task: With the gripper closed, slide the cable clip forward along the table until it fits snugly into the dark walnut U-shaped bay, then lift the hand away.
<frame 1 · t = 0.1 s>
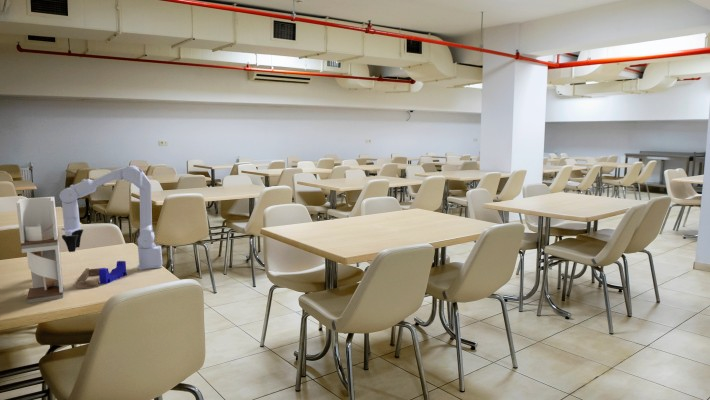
hand: (74, 249, 206), 10 cm above the table, tool pointing down, fingers open, 7 cm apart
display case: (46, 296, 180), on the table
cable clip: (112, 279, 199), on the table
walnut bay: (93, 280, 197), on the table
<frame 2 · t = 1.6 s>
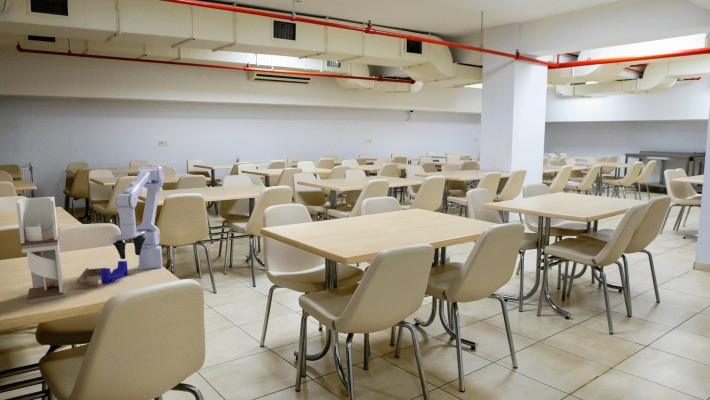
hand: (130, 256, 200), 8 cm above the table, tool pointing down, fingers open, 6 cm apart
nothing on the table moved.
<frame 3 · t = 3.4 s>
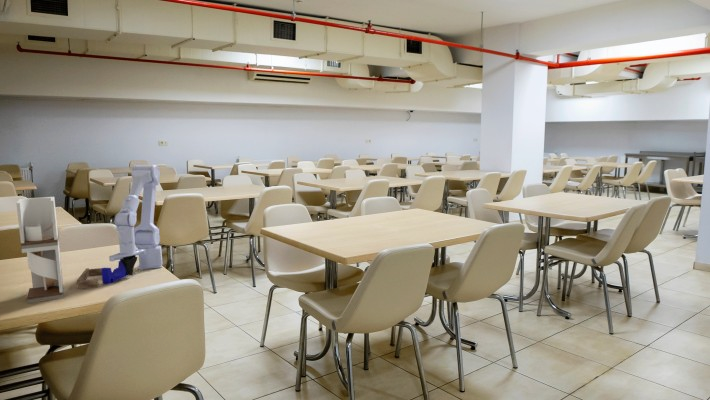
hand: (129, 274, 201), 1 cm above the table, tool pointing down, fingers closed
cable clip: (114, 279, 199), on the table, touching gripper
everything else where it was.
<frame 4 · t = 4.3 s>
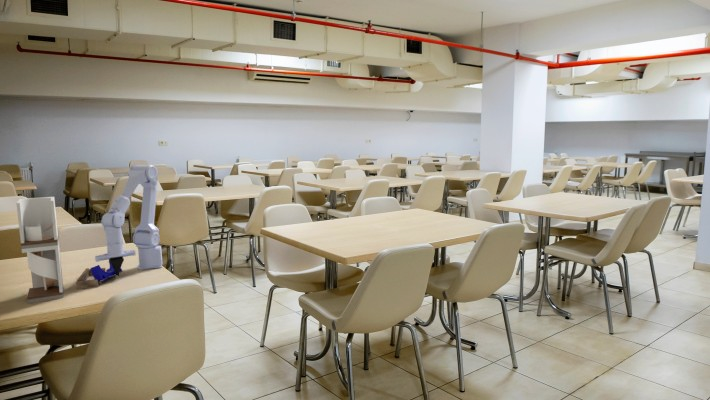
hand: (117, 275, 200), 1 cm above the table, tool pointing down, fingers closed, pressing on cable clip
cable clip: (108, 277, 199), point 1 cm above the table, touching gripper
everything else where it was.
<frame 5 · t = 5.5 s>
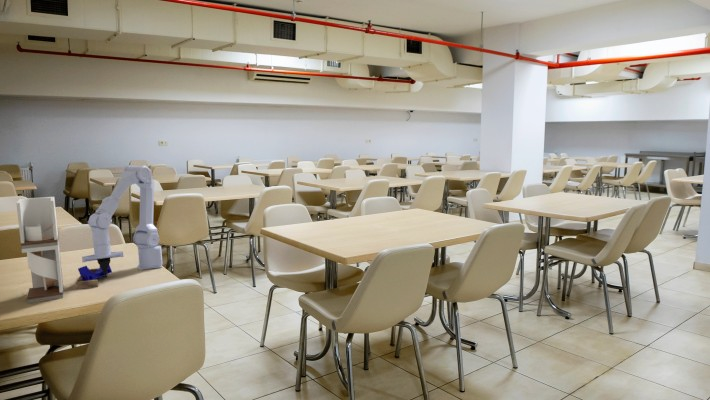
hand: (105, 276, 198), 1 cm above the table, tool pointing down, fingers closed, pressing on cable clip
cable clip: (97, 278, 198), point 1 cm above the table, touching gripper, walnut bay
everything else where it was.
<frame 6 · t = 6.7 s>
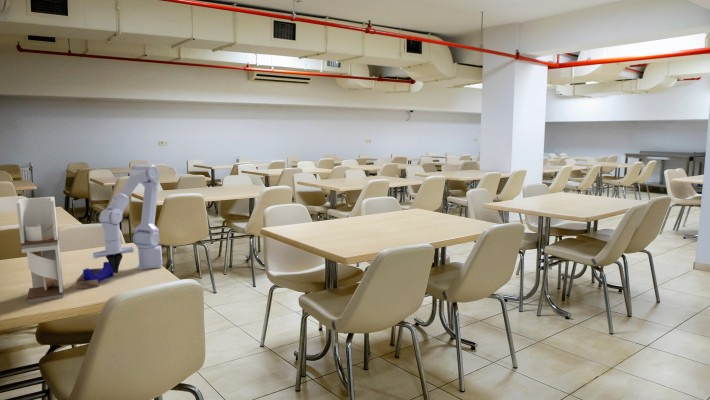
hand: (115, 272, 199), 2 cm above the table, tool pointing down, fingers closed
cable clip: (97, 280, 198), on the table
everything else where it was.
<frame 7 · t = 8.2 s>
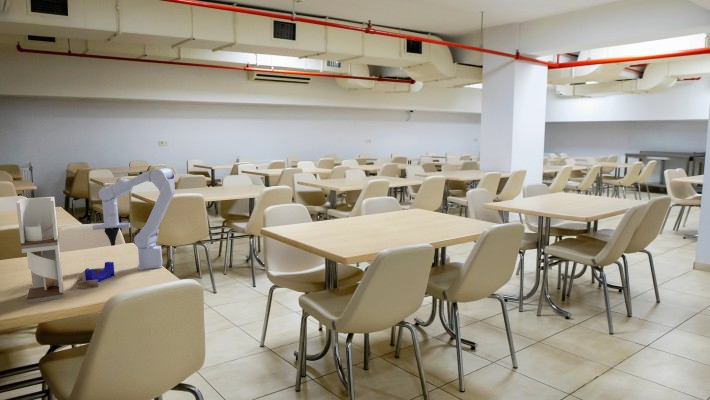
hand: (113, 245, 216), 9 cm above the table, tool pointing down, fingers closed
nothing on the table moved.
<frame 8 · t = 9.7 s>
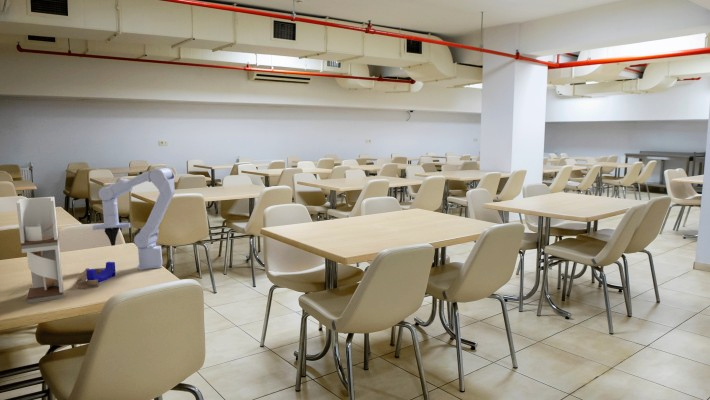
hand: (113, 245, 216), 9 cm above the table, tool pointing down, fingers closed
at the end: cable clip inside the target area on the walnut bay (2.5 cm from its centre), point 0.0 cm above the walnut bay's base; cable clip tilted 0°; cable clip moved 4.1 cm from its start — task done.
